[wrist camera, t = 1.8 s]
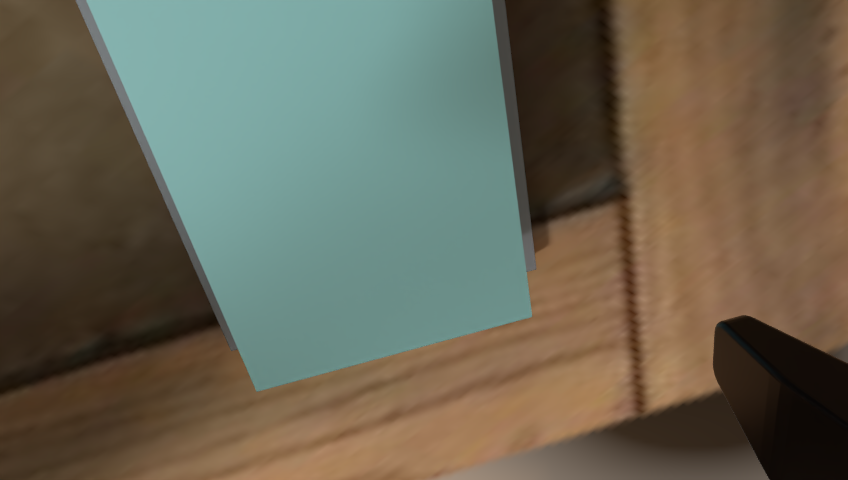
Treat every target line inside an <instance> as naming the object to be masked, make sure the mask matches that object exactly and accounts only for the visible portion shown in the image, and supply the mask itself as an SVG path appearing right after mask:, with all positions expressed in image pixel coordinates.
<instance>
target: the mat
mask: <svg viewBox="0 0 848 480" xmlns="http://www.w3.org/2000/svg"><path fill="white" fill-rule="evenodd" d="M76 2H77V4H78V7H79V9H80V11H81V13H82V16H83V18H84V20H85V22H86V25H87V27H88V29H89V31H90V34H91V36H92V38H93V40H94V43H95V45H96V47H97V49H98V52H99V54H100V56H101V59H102V61H103V63H104V65H105V68H106V70H107V72H108V74H109V77H110V79H111V81H112V83H113V86H114V88H115V90H116V92H117V95H118V97H119V99H120V101H121V104H122V106H123V108H124V110H125V113H126V115H127V117H128V119H129V122H130V124H131V126H132V128H133V131H134V133H135V135H136V137H137V140H138V142H139V144H140V146H141V149H142V151H143V153H144V155H145V158H146V160H147V162H148V165H149V167H150V169H151V171H152V174H153V176H154V178H155V180H156V183H157V185H158V187H159V189H160V192H161V194H162V196H163V198H164V201H165V203H166V205H167V207H168V210H169V212H170V214H171V216H172V219H173V221H174V223H175V225H176V228H177V230H178V232H179V234H180V237H181V239H182V241H183V243H184V246H185V248H186V250H187V252H188V255H189V257H190V259H191V262H192V264H193V266H194V268H195V271H196V273H197V275H198V277H199V280H200V282H201V284H202V286H203V289H204V291H205V293H206V295H207V298H208V300H209V302H210V304H211V307H212V309H213V311H214V313H215V316H216V318H217V320H218V322H219V325H220V327H221V329H222V331H223V334H224V336H225V338H226V340H227V343H228V345H229V347H230V349H231V351H233V350H237V349H238V348H237V346H236V343H235V341H234V339H233V336H232V334H231V332H230V329H229V327H228V325H227V323H226V320H225V318H224V316H223V313H222V311H221V309H220V306H219V304H218V302H217V300H216V297H215V295H214V293H213V290H212V288H211V286H210V283H209V281H208V279H207V277H206V274H205V272H204V270H203V267H202V265H201V263H200V261H199V258H198V256H197V254H196V251H195V249H194V247H193V244H192V242H191V240H190V238H189V235H188V233H187V231H186V228H185V226H184V224H183V221H182V219H181V217H180V215H179V212H178V210H177V208H176V205H175V203H174V201H173V198H172V196H171V194H170V192H169V189H168V187H167V185H166V182H165V180H164V178H163V176H162V173H161V171H160V169H159V166H158V164H157V162H156V159H155V157H154V155H153V153H152V150H151V148H150V146H149V143H148V141H147V139H146V136H145V134H144V132H143V130H142V127H141V125H140V123H139V120H138V118H137V116H136V113H135V111H134V109H133V107H132V104H131V102H130V100H129V97H128V95H127V93H126V91H125V88H124V86H123V84H122V81H121V79H120V77H119V74H118V72H117V70H116V68H115V65H114V63H113V61H112V58H111V56H110V54H109V51H108V49H107V47H106V45H105V42H104V40H103V38H102V35H101V33H100V31H99V29H98V26H97V24H96V22H95V19H94V17H93V15H92V12H91V10H90V8H89V6H88V3H87V1H86V0H76ZM492 5H493V13H494V21H495V28H496V36H497V44H498V52H499V60H500V68H501V76H502V84H503V91H504V99H505V107H506V115H507V123H508V131H509V139H510V146H511V154H512V162H513V170H514V178H515V186H516V194H517V201H518V209H519V217H520V225H521V233H522V241H523V249H524V256H525V264H526V272H528V271H532V270H536V262H535V253H534V245H533V236H532V228H531V219H530V211H529V202H528V194H527V185H526V177H525V168H524V159H523V151H522V142H521V134H520V125H519V117H518V108H517V100H516V91H515V83H514V74H513V66H512V57H511V49H510V40H509V32H508V23H507V15H506V6H505V0H492Z"/></svg>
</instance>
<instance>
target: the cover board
mask: <svg viewBox="0 0 848 480" xmlns="http://www.w3.org/2000/svg"><path fill="white" fill-rule="evenodd" d="M86 1H87V3H88V6H89V8H90V10H91V12H92V15H93V17H94V19H95V22H96V24H97V26H98V29H99V31H100V33H101V35H102V38H103V40H104V42H105V45H106V47H107V49H108V51H109V54H110V56H111V58H112V61H113V63H114V65H115V68H116V70H117V72H118V74H119V77H120V79H121V81H122V84H123V86H124V88H125V91H126V93H127V95H128V97H129V100H130V102H131V104H132V107H133V109H134V111H135V113H136V116H137V118H138V120H139V123H140V125H141V127H142V130H143V132H144V134H145V136H146V139H147V141H148V143H149V146H150V148H151V150H152V153H153V155H154V157H155V159H156V162H157V164H158V166H159V169H160V171H161V173H162V176H163V178H164V180H165V182H166V185H167V187H168V189H169V192H170V194H171V196H172V198H173V201H174V203H175V205H176V208H177V210H178V212H179V215H180V217H181V219H182V221H183V224H184V226H185V228H186V231H187V233H188V235H189V238H190V240H191V242H192V244H193V247H194V249H195V251H196V254H197V256H198V258H199V261H200V263H201V265H202V267H203V270H204V272H205V274H206V277H207V279H208V281H209V283H210V286H211V288H212V290H213V293H214V295H215V297H216V300H217V302H218V304H219V306H220V309H221V311H222V313H223V316H224V318H225V320H226V323H227V325H228V327H229V329H230V332H231V334H232V336H233V339H234V341H235V343H236V346H237V348H238V350H239V352H240V355H241V357H242V359H243V362H244V364H245V366H246V368H247V371H248V373H249V375H250V378H251V380H252V382H253V385H254V387H255V389H256V391H257V392H258V391H261V390H265V389H269V388H272V387H276V386H280V385H283V384H287V383H291V382H294V381H298V380H302V379H305V378H309V377H313V376H317V375H320V374H324V373H328V372H331V371H335V370H339V369H342V368H346V367H350V366H353V365H357V364H361V363H364V362H368V361H372V360H375V359H379V358H383V357H386V356H390V355H394V354H397V353H401V352H405V351H408V350H412V349H416V348H419V347H423V346H427V345H430V344H434V343H438V342H441V341H445V340H449V339H453V338H456V337H460V336H464V335H467V334H471V333H475V332H478V331H482V330H486V329H489V328H493V327H497V326H500V325H504V324H508V323H511V322H515V321H519V320H522V319H526V318H530V317H532V311H531V304H530V296H529V288H528V280H527V272H526V264H525V256H524V249H523V241H522V233H521V225H520V217H519V209H518V201H517V194H516V186H515V178H514V170H513V162H512V154H511V146H510V139H509V131H508V123H507V115H506V107H505V99H504V91H503V84H502V76H501V68H500V60H499V52H498V44H497V36H496V28H495V21H494V13H493V5H492V0H86Z"/></svg>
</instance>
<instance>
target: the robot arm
mask: <svg viewBox="0 0 848 480" xmlns="http://www.w3.org/2000/svg"><path fill="white" fill-rule="evenodd" d="M713 369H714V374H715V377H716V380H717V382H718V384H719V386H720V388H721V390H722V391H723V393H724V395H725V397H726V399H727V401H728V403H729V405H730V407H731V409H732V410H733V412H734V414H735V416H736V418H737V420H738V422H739V424H740V426H741V427H742V429H743V431H744V433H745V435H746V437H747V439H748V441H749V443H750V445H751V447H752V448H753V450H754V452H755V454H756V456H757V458H758V460H759V462H760V464H761V465H762V467H763V469H764V470H765V472H766V474H767V476H768V478H769V479H770V480H848V363H846V362H844V361H842V360H840V359H838V358H836V357H834V356H832V355H830V354H828V353H825V352H823V351H821V350H819V349H817V348H815V347H813V346H811V345H809V344H807V343H805V342H803V341H801V340H798V339H796V338H794V337H792V336H790V335H788V334H786V333H784V332H782V331H780V330H778V329H776V328H774V327H772V326H769V325H767V324H765V323H763V322H761V321H759V320H757V319H755V318H753V317H750V316H746V315H742V316H738V317H734V318H731V319H727V320H724V321H721V322H719V323H718V324H717V325H716V327H715V336H714V354H713Z"/></svg>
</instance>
